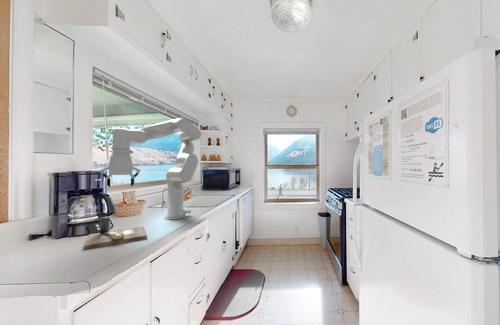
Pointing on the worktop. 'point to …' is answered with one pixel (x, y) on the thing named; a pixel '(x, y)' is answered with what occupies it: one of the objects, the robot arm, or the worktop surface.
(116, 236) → the tuner lever
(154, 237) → the worktop surface
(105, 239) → the board
